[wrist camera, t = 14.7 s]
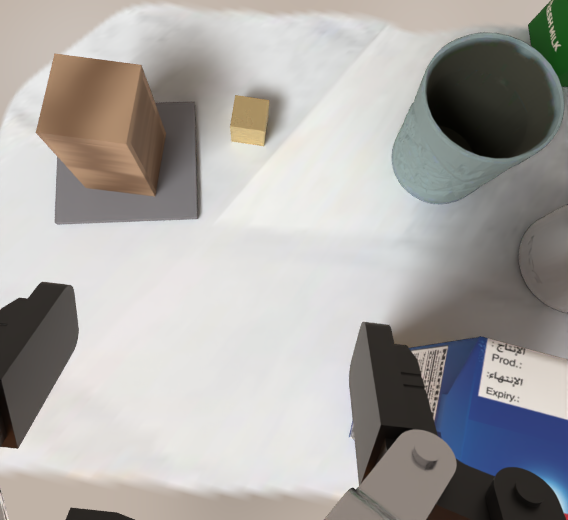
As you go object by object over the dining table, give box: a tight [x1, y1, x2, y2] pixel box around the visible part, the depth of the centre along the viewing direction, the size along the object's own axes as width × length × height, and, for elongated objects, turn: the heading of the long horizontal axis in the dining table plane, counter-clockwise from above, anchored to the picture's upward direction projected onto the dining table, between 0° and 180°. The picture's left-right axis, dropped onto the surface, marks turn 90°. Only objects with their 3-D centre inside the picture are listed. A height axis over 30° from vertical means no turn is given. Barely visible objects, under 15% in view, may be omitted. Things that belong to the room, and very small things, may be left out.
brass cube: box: [230, 95, 269, 146], centre depth 45 cm, size 3×3×3 cm
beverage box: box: [349, 336, 568, 520], centre depth 31 cm, size 7×11×22 cm, turn 75°
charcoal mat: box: [55, 102, 198, 224], centre depth 45 cm, size 12×11×1 cm
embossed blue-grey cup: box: [392, 33, 564, 204], centre depth 41 cm, size 10×10×12 cm
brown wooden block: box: [36, 54, 166, 197], centre depth 39 cm, size 6×6×10 cm
